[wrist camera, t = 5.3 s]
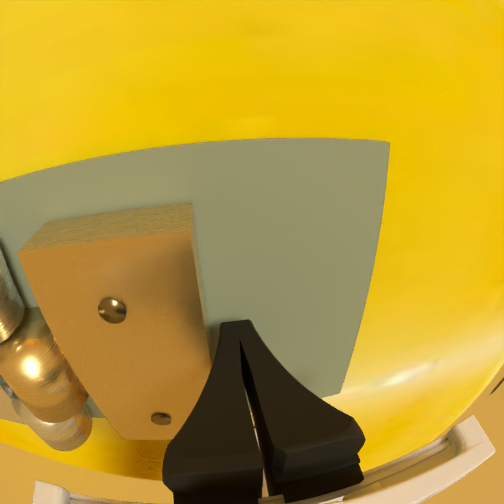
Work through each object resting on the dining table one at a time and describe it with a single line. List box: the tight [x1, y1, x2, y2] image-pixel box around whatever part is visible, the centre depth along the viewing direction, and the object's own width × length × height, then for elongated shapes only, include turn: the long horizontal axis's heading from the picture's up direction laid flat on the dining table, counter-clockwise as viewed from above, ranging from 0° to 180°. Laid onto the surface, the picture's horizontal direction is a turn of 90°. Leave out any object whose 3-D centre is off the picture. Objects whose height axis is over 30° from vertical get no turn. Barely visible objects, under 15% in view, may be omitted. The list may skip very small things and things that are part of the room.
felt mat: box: [0, 138, 390, 418], centre depth 13 cm, size 16×27×1 cm, turn 92°
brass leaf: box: [0, 202, 214, 440], centre depth 11 cm, size 12×10×4 cm
